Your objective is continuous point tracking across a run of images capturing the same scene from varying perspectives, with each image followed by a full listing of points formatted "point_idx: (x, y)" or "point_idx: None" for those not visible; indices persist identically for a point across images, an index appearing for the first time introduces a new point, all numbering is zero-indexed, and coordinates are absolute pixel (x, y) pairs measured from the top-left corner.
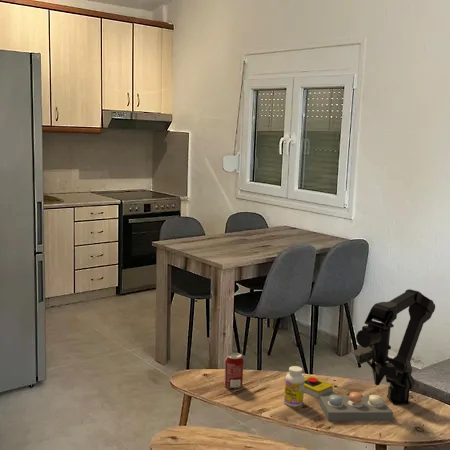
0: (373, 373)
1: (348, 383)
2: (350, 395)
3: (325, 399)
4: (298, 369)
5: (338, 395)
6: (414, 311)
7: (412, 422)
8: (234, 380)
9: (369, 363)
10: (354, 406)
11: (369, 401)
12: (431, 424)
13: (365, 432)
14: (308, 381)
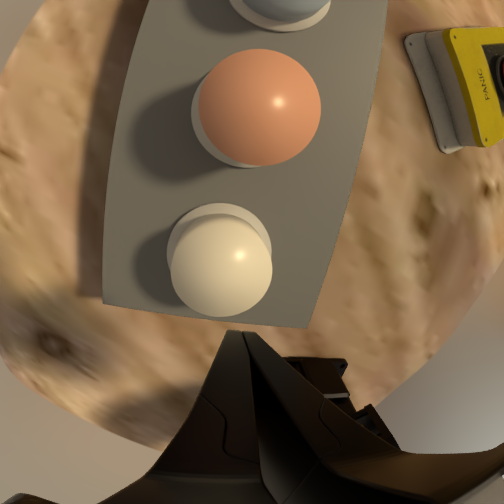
0: (308, 411)
1: (480, 256)
2: (261, 49)
3: None
4: None
5: (322, 2)
6: None
7: (103, 352)
8: None
9: (467, 496)
10: (202, 79)
11: (225, 216)
12: (94, 398)
13: (29, 86)
14: None
